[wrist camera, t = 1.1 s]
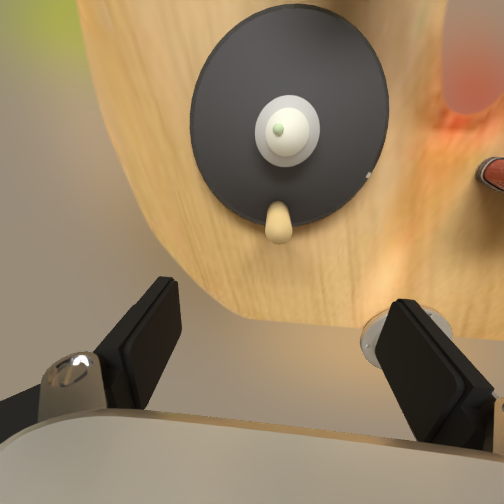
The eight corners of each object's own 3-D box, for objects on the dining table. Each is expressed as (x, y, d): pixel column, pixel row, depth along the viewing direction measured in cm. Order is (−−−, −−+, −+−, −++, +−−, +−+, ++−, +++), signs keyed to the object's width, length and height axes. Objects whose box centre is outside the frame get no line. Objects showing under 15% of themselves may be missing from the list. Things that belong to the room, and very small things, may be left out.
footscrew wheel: (415, 142, 25) (479, 141, 17) (273, 249, 31) (272, 284, 23) (304, -46, 20) (323, -168, 12) (162, 126, 26) (115, 119, 18)
